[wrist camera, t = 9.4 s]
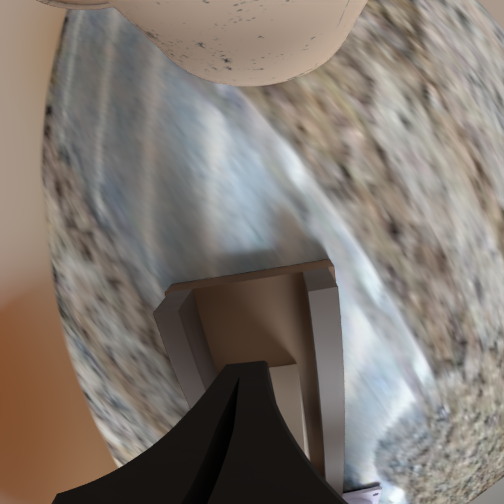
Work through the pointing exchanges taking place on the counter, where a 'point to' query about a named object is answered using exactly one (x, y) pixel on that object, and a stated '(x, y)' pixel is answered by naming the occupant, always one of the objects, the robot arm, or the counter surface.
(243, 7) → the teacup with lid
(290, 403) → the beige rectangular block
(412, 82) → the counter surface
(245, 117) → the counter surface
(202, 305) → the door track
